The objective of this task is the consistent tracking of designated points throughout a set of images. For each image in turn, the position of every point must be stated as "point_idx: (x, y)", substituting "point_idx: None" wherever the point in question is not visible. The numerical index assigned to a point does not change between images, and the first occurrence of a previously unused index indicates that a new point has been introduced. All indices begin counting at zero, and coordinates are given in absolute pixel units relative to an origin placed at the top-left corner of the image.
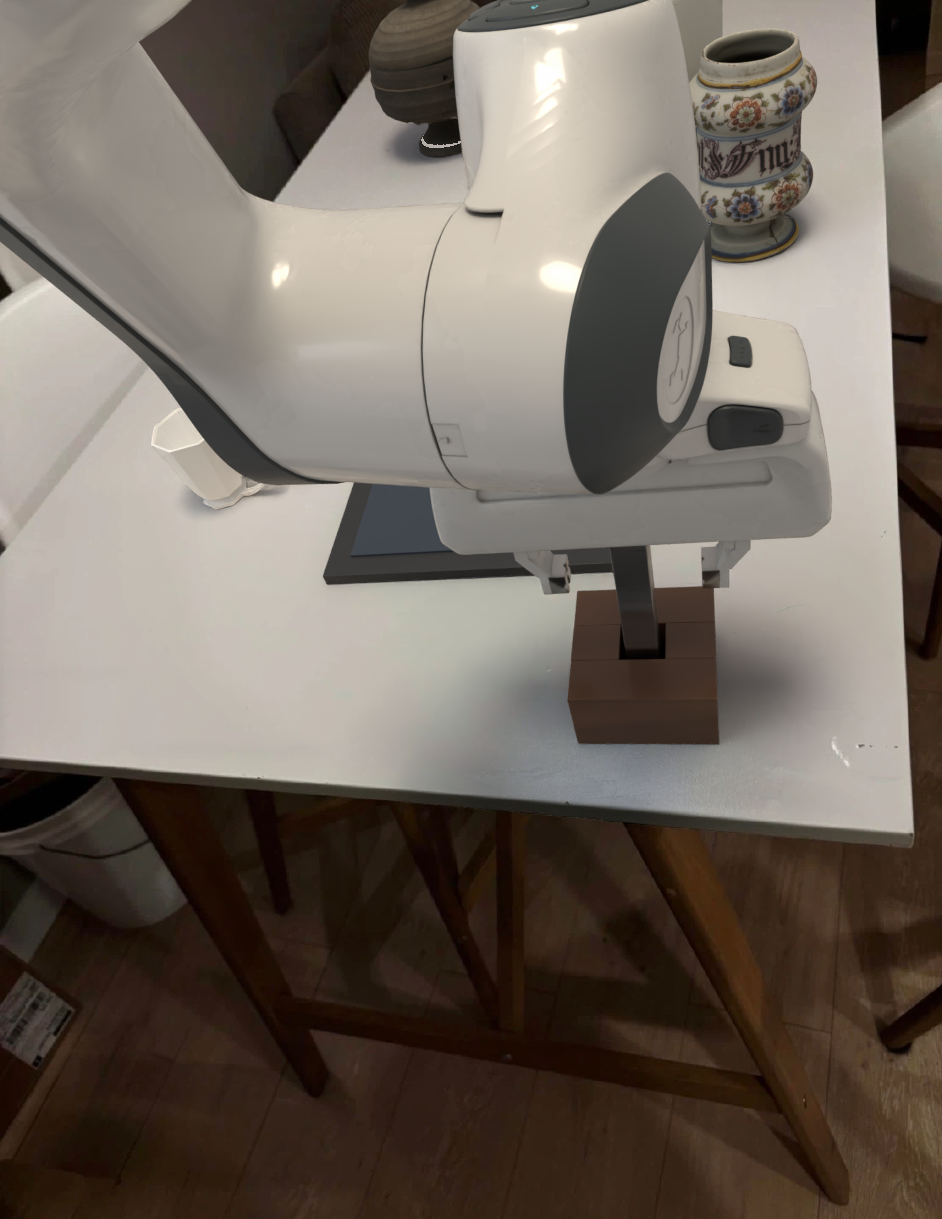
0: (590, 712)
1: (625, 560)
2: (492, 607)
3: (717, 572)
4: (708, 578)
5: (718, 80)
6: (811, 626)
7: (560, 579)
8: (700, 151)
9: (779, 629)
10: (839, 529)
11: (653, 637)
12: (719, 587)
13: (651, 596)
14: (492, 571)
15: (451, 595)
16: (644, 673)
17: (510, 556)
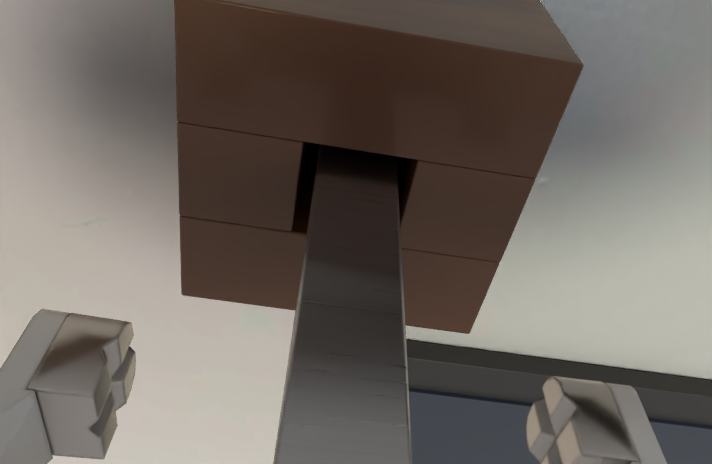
0: (517, 32)
1: None
2: (603, 314)
3: (39, 378)
4: (85, 357)
5: None
6: (42, 181)
7: (594, 443)
8: None
9: (100, 186)
10: (12, 336)
11: (321, 198)
12: (70, 315)
13: (296, 322)
14: (584, 374)
15: (665, 346)
16: (361, 110)
17: None
